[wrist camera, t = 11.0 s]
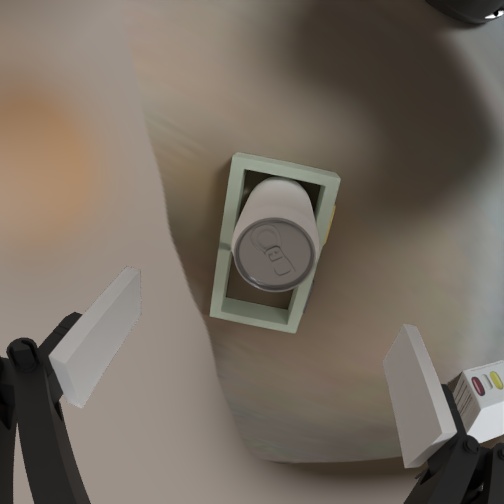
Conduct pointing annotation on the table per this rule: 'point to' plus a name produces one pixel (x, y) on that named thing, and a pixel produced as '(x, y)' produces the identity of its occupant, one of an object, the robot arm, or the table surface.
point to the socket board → (239, 166)
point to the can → (276, 236)
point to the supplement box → (482, 400)
